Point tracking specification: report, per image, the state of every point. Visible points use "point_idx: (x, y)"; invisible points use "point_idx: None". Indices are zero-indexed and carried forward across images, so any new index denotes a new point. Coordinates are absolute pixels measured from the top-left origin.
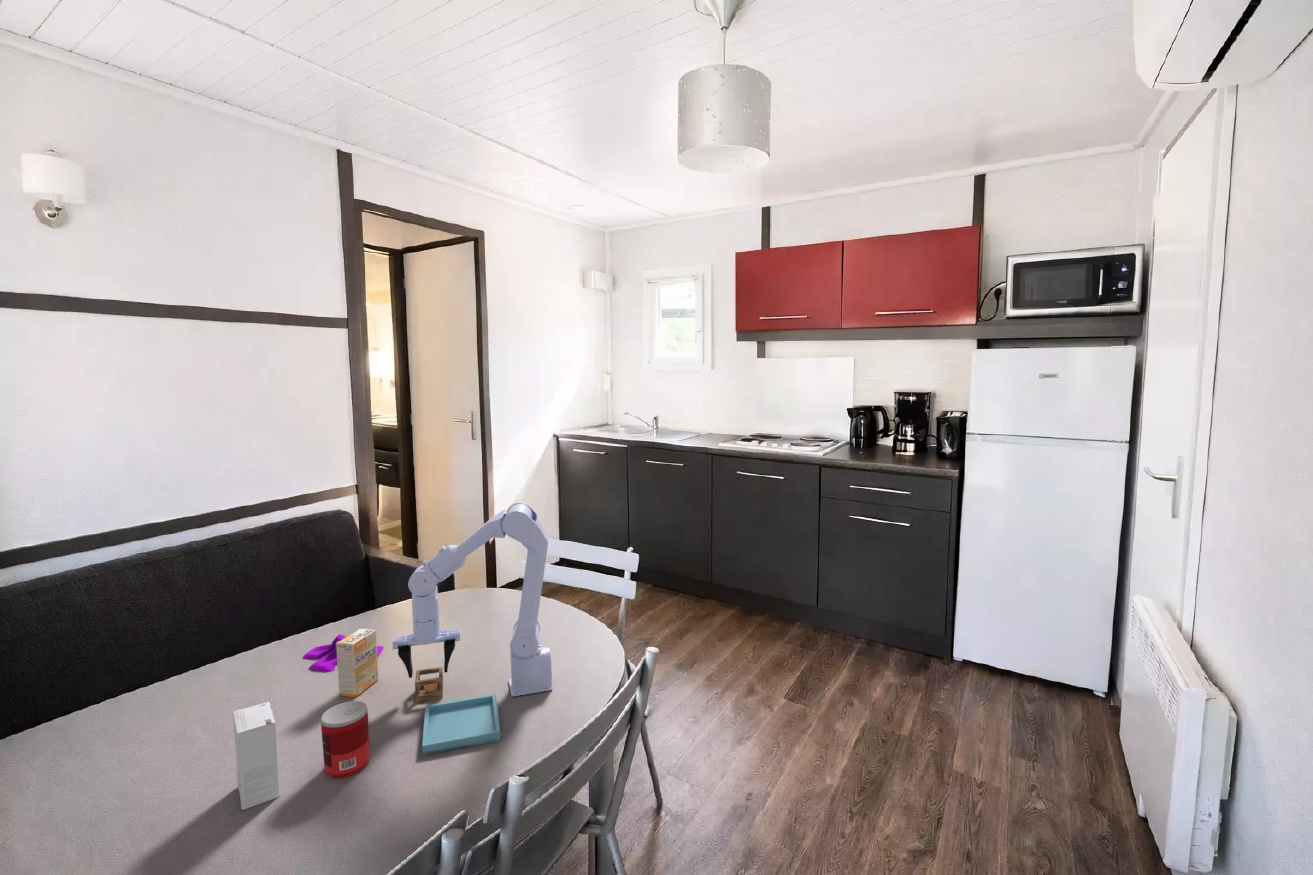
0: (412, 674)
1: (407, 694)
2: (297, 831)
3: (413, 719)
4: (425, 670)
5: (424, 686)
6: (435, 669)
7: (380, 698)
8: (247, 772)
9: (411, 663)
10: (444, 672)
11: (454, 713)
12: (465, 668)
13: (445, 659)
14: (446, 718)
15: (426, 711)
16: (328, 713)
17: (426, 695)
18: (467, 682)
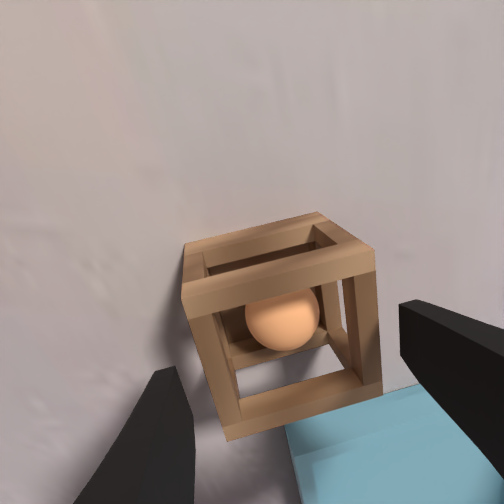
0: (181, 385)
1: (147, 290)
2: None
3: (244, 453)
4: (255, 300)
5: (254, 337)
6: (325, 280)
7: (7, 321)
8: None
9: (166, 450)
10: (401, 355)
11: (393, 438)
12: (430, 5)
13: (501, 467)
14: (368, 463)
15: (306, 489)
16: None
17: (269, 358)
18: (436, 194)
